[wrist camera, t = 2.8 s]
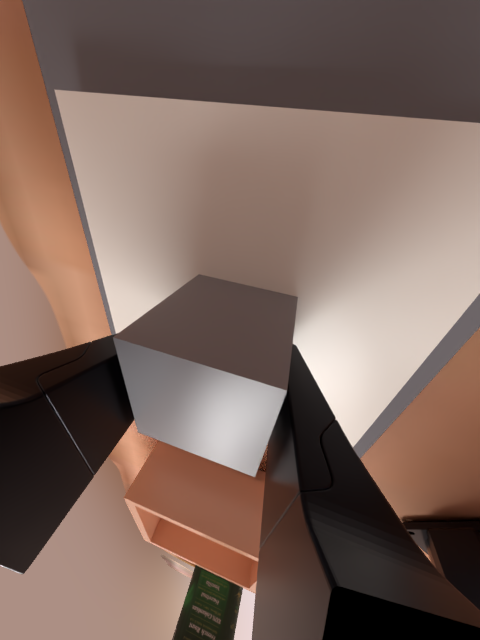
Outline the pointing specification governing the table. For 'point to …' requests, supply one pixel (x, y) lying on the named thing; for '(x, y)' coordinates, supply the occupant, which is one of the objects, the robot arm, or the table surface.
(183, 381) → the lid
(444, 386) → the table surface
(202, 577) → the coffee jar
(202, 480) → the open box
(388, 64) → the mat
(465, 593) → the robot arm
